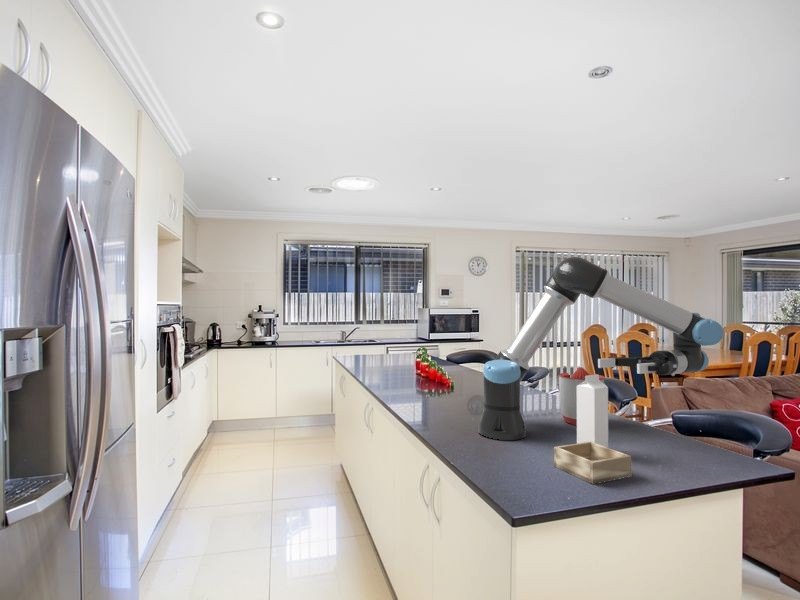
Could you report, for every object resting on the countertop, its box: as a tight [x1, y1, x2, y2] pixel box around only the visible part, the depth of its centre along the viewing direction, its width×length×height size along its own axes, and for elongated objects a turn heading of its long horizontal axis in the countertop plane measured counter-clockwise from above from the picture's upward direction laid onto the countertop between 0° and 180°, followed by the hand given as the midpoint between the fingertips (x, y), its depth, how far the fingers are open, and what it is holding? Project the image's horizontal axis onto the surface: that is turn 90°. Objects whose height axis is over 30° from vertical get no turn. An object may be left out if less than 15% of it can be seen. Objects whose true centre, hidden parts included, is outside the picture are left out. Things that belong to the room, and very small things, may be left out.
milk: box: [576, 374, 609, 448], centre depth 124 cm, size 6×6×22 cm
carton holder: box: [553, 442, 632, 485], centre depth 109 cm, size 13×13×5 cm
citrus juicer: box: [558, 366, 606, 426], centre depth 158 cm, size 16×17×20 cm
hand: (617, 366), depth 128 cm, fingers open, 13 cm apart
